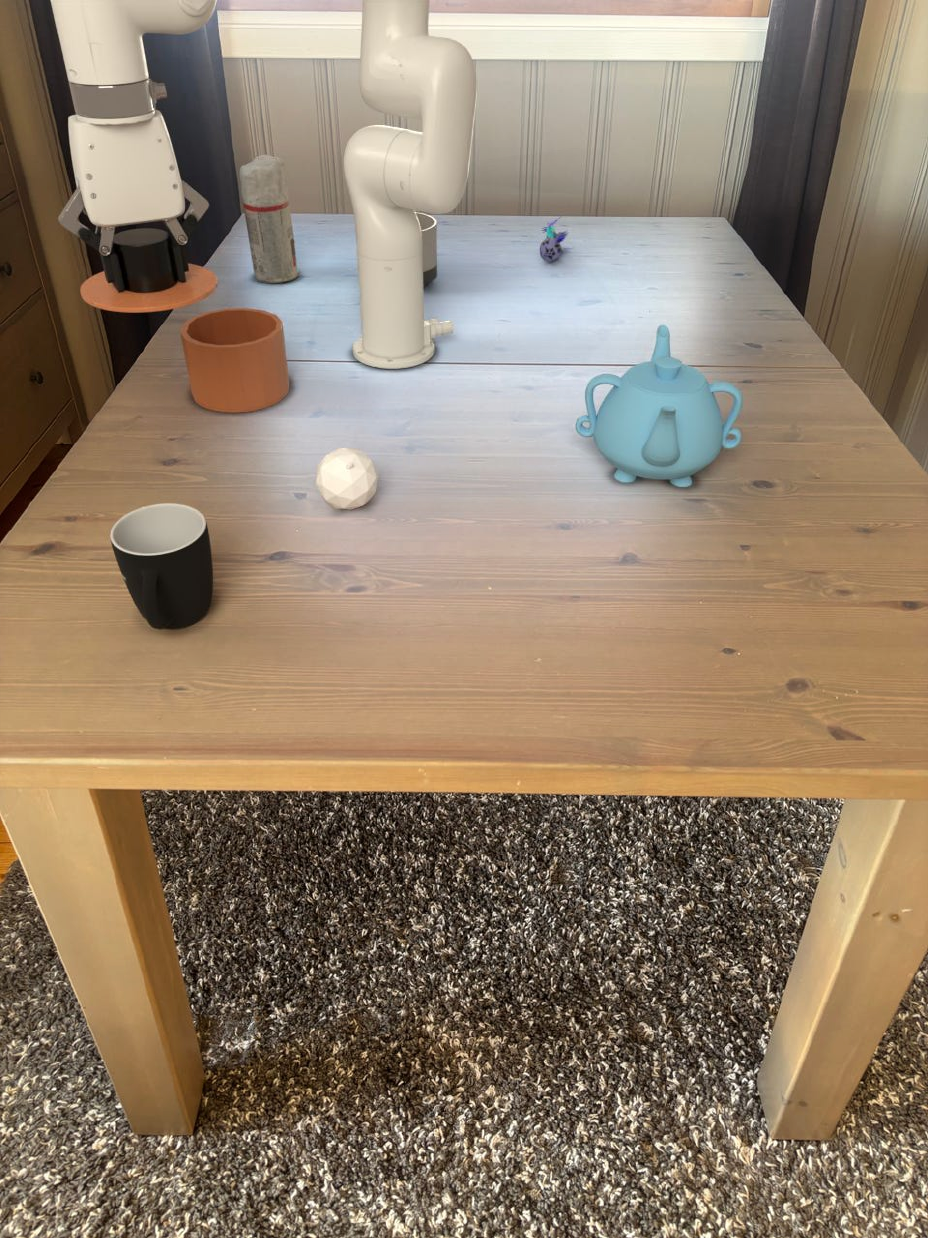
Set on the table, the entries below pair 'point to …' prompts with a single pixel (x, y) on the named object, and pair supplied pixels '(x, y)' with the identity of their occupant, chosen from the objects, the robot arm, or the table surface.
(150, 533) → the mug
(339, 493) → the ornament
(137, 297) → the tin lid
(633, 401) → the teapot
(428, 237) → the planter
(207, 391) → the orange hollow cylinder
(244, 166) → the spray can
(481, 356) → the table surface
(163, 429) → the table surface
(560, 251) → the figurine
